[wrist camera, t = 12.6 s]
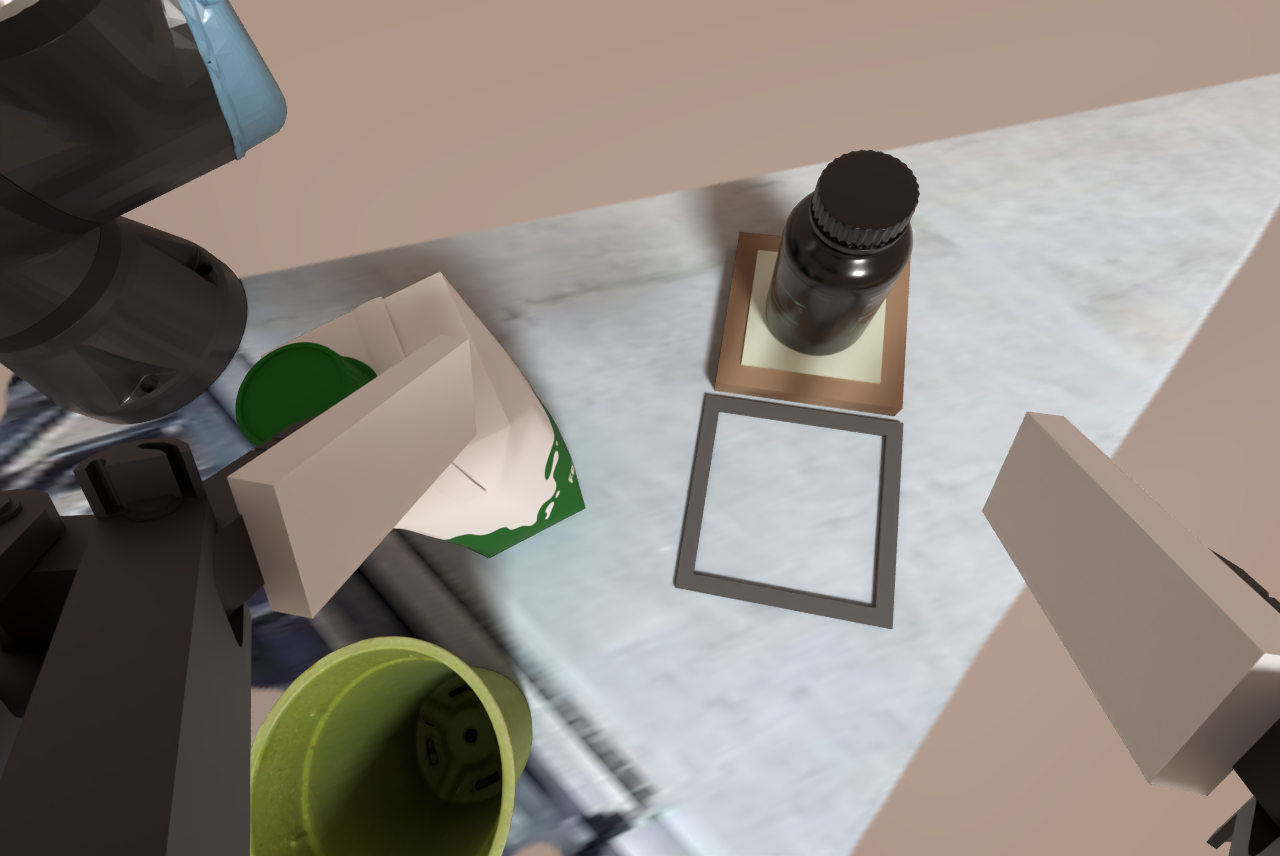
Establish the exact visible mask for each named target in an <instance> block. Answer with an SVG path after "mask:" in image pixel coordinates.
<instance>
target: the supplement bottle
mask: <svg viewBox="0 0 1280 856" xmlns="http://www.w3.org/2000/svg"><path fill="white" fill-rule="evenodd" d="M916 180H917V179H916V177H915V176H914V175H913V172H912V170H910V169H909V168H908V167H907V165H906V164H904V163H902V162H901V161H900V160H899V159H898V158H894V157H893V156H891V155H890V154H884V153H883V152H875V151H872V150H869V151H864V150H860V151H852V152H850V153H848V154H843V155H842V156H841V157H839V158H835V159H834V161H833V162H831V163H829V164H828V165H827V168H826V169H824V170H823V171H822V173H821V176H820V177H819V179H818V182H817V185H816V188H815V191H814V192H812V193H810V194H809V195H807V196H806V197H805V198H803V199H802V200H801V201H800V202H799V203H798V204H797V205H796V206H795V208H794V209H793V210H792V212H791V214H790V215H789V217H788V219H787V222H786V225H785V228H784V231H783V235H782V238H781V242H780V246H779V250H778V254H777V258H776V262H775V266H774V270H773V274H772V278H771V282H770V286H769V290H768V294H767V299H766V307H765V310H766V318H767V322H768V324H769V327H770V329H771V331H772V332H773V334H774V335H775V336H776V338H777V339H778V340H779V341H780V342H782V343H783V344H784V345H785V346H787V347H788V348H790V349H792V350H794V351H796V352H799V353H801V354H805V355H811V356H827V355H832V354H836V353H839V352H841V351H843V350H845V349H847V348H849V347H850V346H851V345H853V344H854V343H855V342H856V341H857V340H858V339H859V338H860V337H861V335H862V334H863V333H864V331H865V330H866V328H867V327H868V325H869V324H870V322H871V320H872V319H873V317H874V316H875V314H876V313H877V311H878V309H879V308H880V306H881V305H882V303H883V302H884V300H885V298H886V297H887V295H888V294H889V292H890V291H891V289H892V287H893V286H894V284H895V283H896V281H897V280H898V278H899V276H900V275H901V273H902V272H903V270H904V268H905V266H906V264H907V263H908V261H909V258H910V256H911V252H912V248H913V233H912V227H911V224H910V219H911V217H912V215H913V214H914V211H915V208H916V207H917V205H918V197H919V195H920V193H919V191H918V188H919V185H918V183H917V182H916Z"/></svg>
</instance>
